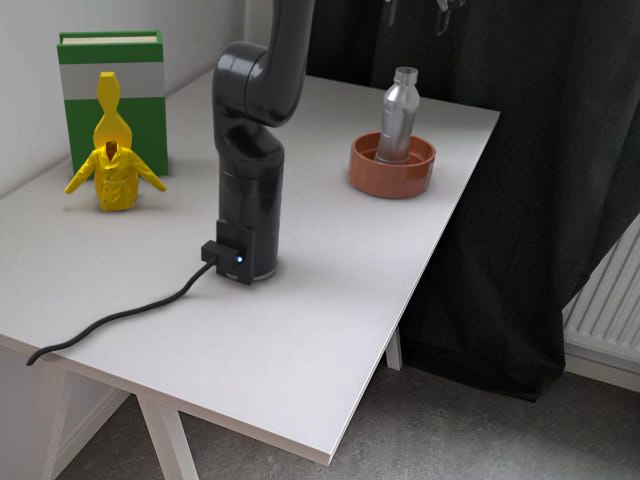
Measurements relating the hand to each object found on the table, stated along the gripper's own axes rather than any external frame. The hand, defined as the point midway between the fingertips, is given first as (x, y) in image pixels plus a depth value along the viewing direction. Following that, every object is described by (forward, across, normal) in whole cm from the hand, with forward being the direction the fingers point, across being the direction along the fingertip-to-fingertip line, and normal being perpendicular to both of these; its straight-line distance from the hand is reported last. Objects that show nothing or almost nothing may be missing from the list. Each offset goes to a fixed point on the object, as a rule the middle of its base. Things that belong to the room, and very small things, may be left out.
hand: (413, 29), depth 119 cm
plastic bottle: (+27, 0, 0) cm, 27 cm away
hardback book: (+27, -45, -24) cm, 58 cm away
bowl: (+27, 0, 0) cm, 27 cm away
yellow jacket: (+27, -37, -35) cm, 58 cm away
